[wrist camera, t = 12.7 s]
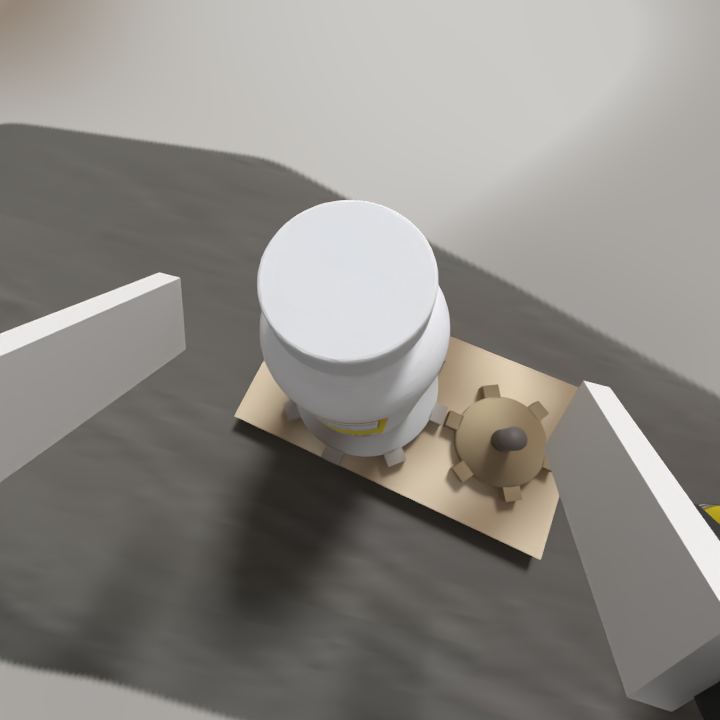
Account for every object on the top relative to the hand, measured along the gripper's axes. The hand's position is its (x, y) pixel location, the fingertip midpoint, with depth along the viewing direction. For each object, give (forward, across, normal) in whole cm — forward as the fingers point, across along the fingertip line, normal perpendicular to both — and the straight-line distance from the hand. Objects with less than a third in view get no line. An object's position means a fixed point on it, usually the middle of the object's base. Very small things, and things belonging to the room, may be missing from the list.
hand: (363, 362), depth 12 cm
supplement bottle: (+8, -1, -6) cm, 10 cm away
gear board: (+9, +3, -7) cm, 12 cm away
